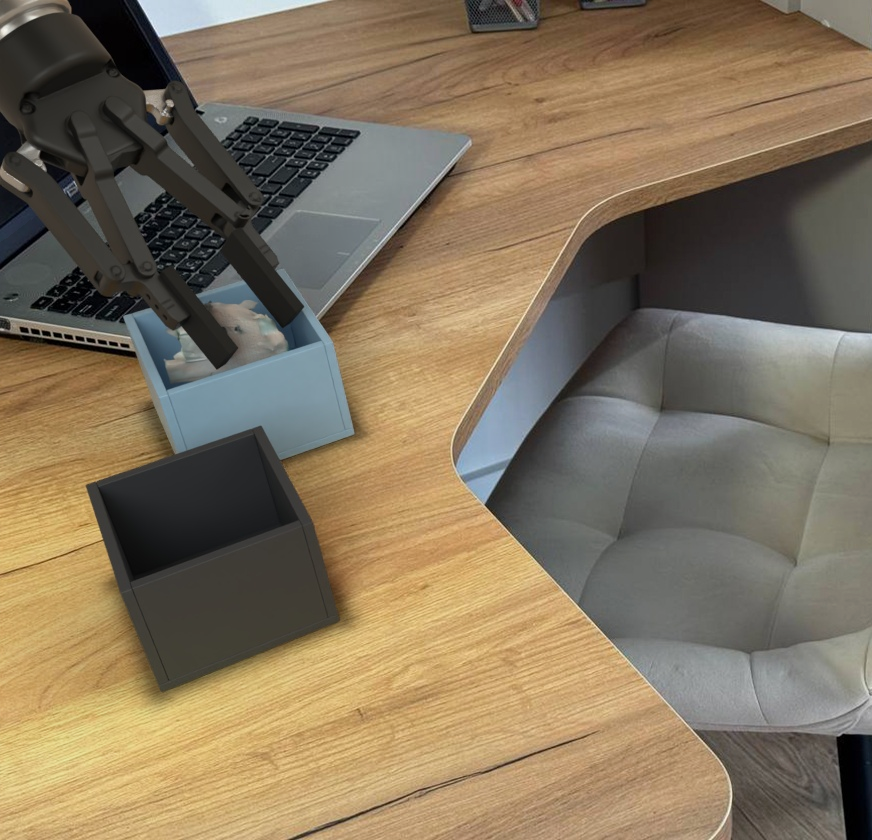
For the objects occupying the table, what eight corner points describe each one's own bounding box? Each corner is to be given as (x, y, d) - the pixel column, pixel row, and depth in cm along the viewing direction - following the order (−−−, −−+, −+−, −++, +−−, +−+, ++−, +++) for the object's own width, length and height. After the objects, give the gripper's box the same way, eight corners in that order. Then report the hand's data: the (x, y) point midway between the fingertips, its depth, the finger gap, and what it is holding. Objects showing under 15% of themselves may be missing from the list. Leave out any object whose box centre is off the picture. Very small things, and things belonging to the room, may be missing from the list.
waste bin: (161, 693, 71) (120, 593, 67) (124, 581, 79) (85, 484, 74) (340, 621, 75) (313, 521, 70) (289, 521, 82) (261, 424, 78)
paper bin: (191, 492, 85) (158, 397, 80) (154, 405, 93) (122, 315, 88) (355, 434, 89) (333, 341, 84) (306, 356, 97) (283, 267, 92)
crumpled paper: (294, 370, 87) (270, 281, 83) (171, 393, 86) (140, 304, 82) (292, 336, 90) (268, 249, 86) (173, 358, 89) (143, 270, 85)
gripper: (128, 32, 91) (340, 298, 93) (-114, 129, 80) (133, 430, 81) (155, -34, 85) (381, 251, 87) (-102, 61, 74) (164, 386, 76)
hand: (260, 337), depth 84 cm, fingers closed on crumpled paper, 5 cm apart
